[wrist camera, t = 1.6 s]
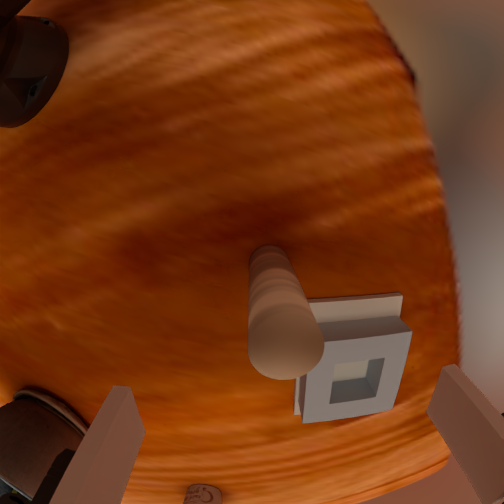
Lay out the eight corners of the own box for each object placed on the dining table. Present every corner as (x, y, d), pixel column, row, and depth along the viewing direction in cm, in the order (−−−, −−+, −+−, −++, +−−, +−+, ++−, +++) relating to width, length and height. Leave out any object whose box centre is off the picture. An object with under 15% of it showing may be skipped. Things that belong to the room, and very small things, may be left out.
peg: (248, 245, 30) (246, 317, 15) (288, 244, 30) (327, 313, 15) (249, 283, 31) (249, 381, 16) (288, 282, 31) (321, 376, 16)
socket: (297, 299, 32) (305, 321, 27) (399, 292, 31) (419, 309, 27) (293, 409, 35) (297, 436, 30) (378, 398, 35) (390, 421, 30)
